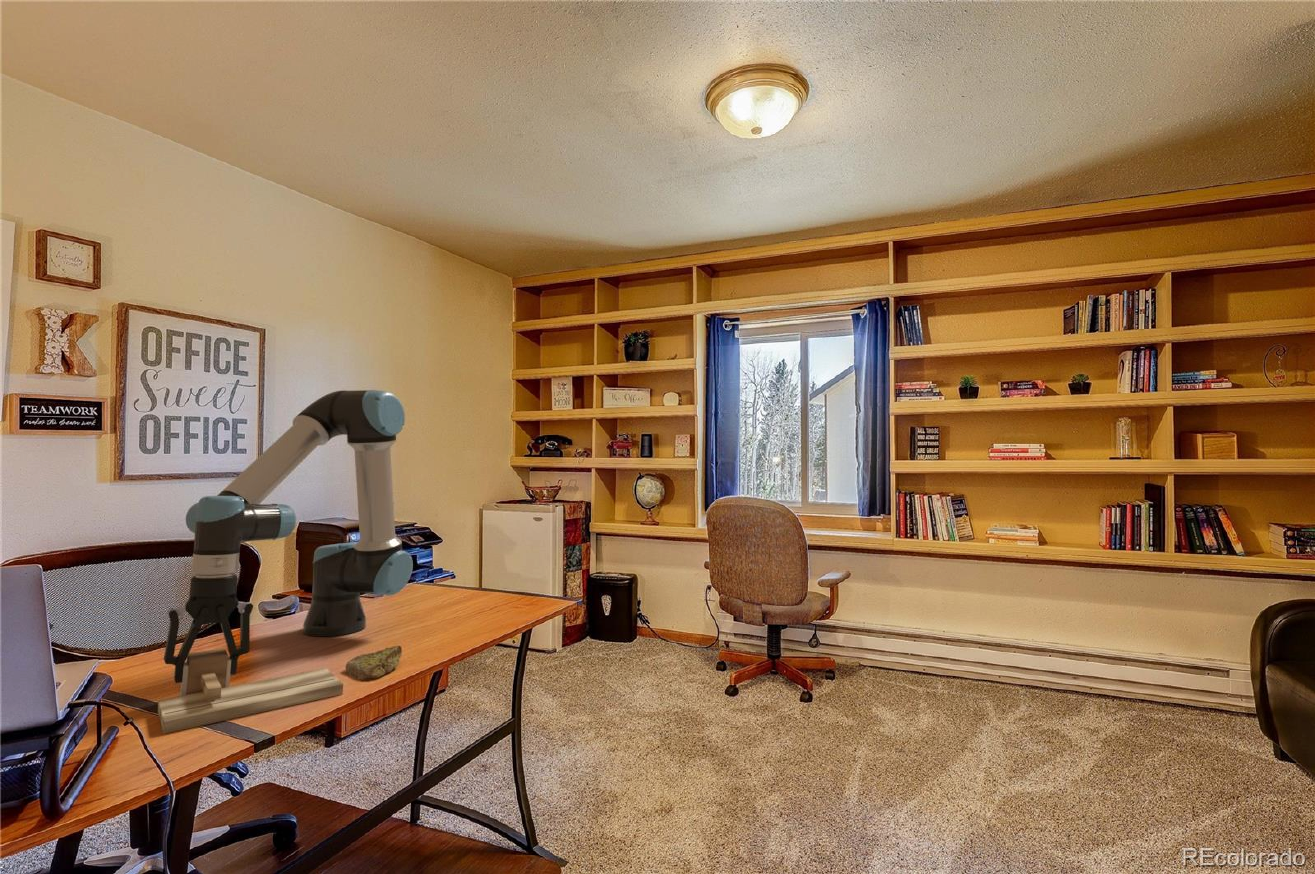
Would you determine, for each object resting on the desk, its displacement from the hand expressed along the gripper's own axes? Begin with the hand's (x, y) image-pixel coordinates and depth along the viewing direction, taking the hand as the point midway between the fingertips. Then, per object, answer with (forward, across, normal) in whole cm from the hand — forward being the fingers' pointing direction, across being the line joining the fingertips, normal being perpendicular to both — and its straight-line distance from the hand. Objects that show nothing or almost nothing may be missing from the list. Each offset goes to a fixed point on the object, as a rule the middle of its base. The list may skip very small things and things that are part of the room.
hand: (204, 695), depth 120 cm
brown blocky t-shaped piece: (0, 0, -5) cm, 5 cm away
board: (0, +7, -9) cm, 11 cm away
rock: (0, +30, -4) cm, 30 cm away
